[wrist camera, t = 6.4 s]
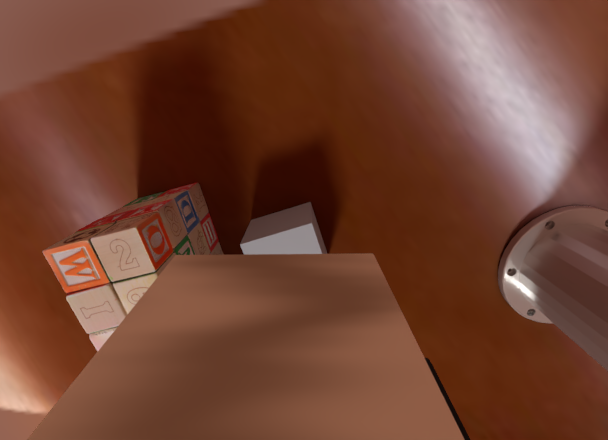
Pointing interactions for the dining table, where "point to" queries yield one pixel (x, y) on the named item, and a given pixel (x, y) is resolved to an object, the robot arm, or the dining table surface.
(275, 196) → the dining table surface
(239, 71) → the dining table surface
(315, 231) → the bluegrey block
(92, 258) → the stack of blocks
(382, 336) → the maple cube
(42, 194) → the dining table surface
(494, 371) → the dining table surface
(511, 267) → the robot arm
